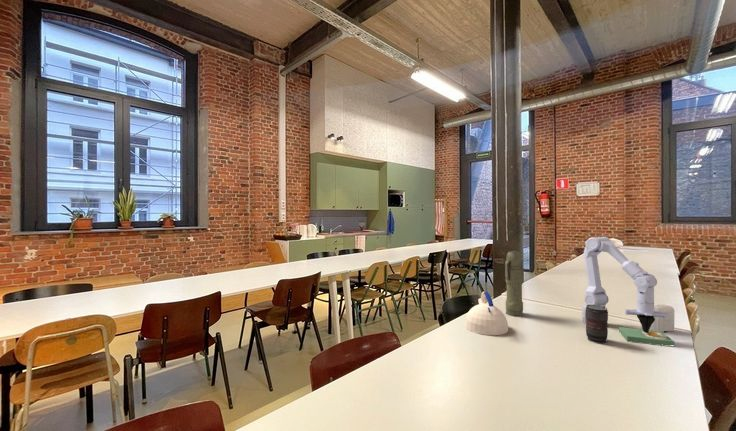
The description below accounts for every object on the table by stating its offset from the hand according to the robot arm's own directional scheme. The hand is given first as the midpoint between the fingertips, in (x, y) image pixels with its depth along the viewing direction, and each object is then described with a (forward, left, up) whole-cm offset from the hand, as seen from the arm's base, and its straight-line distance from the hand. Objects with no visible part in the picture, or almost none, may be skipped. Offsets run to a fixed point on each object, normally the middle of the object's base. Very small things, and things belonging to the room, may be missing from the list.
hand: (645, 332), depth 144 cm
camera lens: (-20, -10, -3) cm, 23 cm away
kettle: (-66, -11, -3) cm, 67 cm away
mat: (0, 0, -3) cm, 3 cm away
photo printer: (+11, +15, -3) cm, 19 cm away
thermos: (-53, +17, -3) cm, 56 cm away
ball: (+3, +1, -1) cm, 3 cm away
